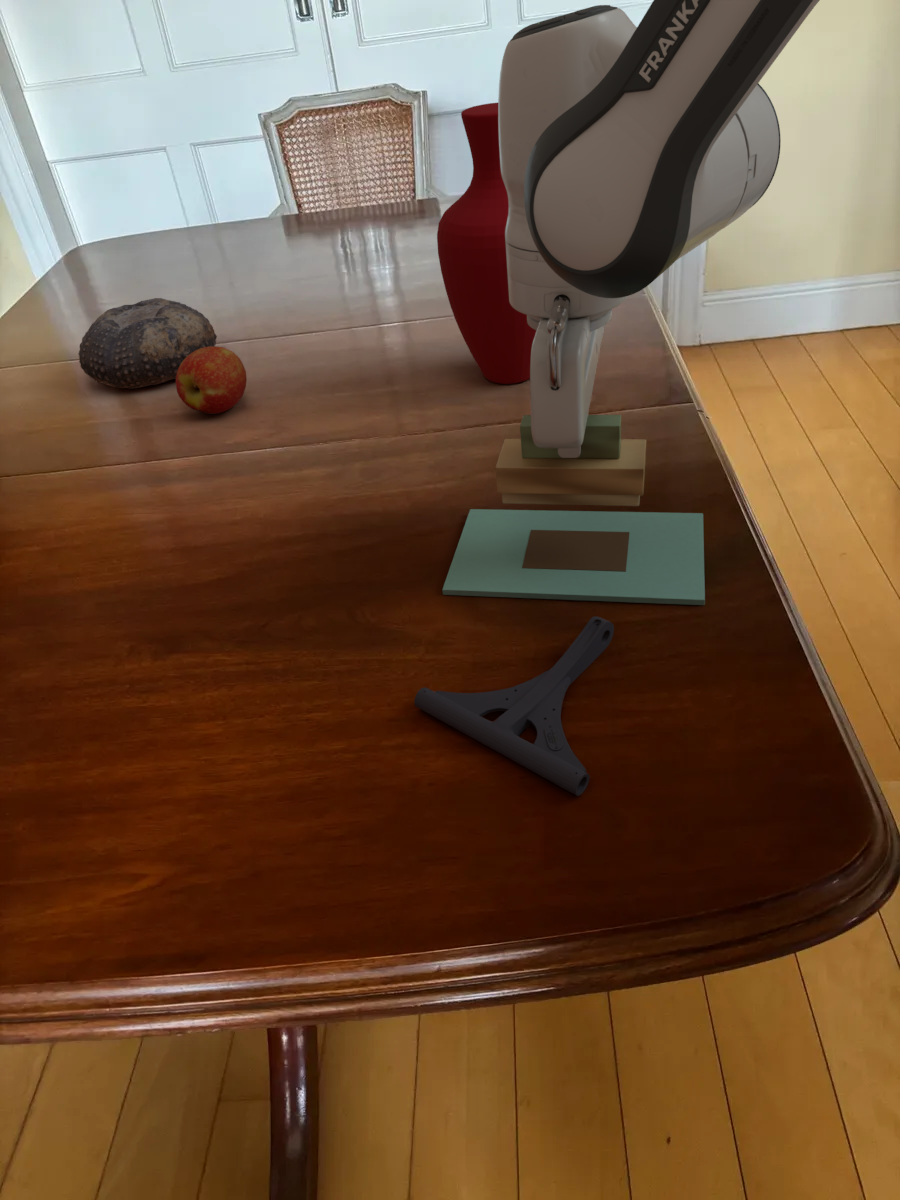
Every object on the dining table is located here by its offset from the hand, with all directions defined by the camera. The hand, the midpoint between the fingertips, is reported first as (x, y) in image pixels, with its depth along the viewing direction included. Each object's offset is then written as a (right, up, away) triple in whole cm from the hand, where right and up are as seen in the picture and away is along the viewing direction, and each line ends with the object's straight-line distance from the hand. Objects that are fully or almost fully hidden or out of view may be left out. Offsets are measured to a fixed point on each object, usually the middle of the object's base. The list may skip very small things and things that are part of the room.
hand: (572, 443), depth 74 cm
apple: (-39, +11, +41) cm, 58 cm away
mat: (+1, -9, +7) cm, 11 cm away
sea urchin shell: (-52, +20, +54) cm, 78 cm away
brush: (0, -4, +3) cm, 5 cm away
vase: (-2, +16, +39) cm, 42 cm away
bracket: (-2, -20, -7) cm, 21 cm away
